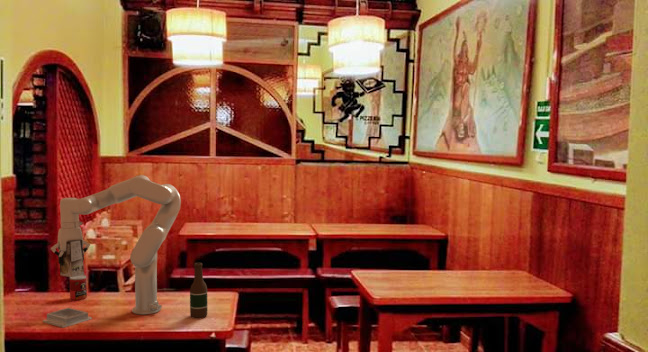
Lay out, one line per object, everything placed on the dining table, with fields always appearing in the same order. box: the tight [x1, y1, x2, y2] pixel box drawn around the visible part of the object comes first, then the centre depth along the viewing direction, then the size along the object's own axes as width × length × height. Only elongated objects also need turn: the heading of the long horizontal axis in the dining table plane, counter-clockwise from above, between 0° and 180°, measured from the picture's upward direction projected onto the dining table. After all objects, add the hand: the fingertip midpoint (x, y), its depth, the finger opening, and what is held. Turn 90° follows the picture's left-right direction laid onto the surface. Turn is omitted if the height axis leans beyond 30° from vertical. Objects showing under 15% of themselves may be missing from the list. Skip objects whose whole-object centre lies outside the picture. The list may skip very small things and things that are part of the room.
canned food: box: [69, 274, 88, 302], centre depth 287 cm, size 8×8×11 cm
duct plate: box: [42, 307, 93, 329], centre depth 253 cm, size 14×14×3 cm
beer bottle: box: [189, 262, 208, 319], centre depth 259 cm, size 8×8×24 cm
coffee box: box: [58, 239, 85, 278], centre depth 262 cm, size 9×6×16 cm
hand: (71, 263), depth 263 cm, fingers closed on coffee box, 8 cm apart
